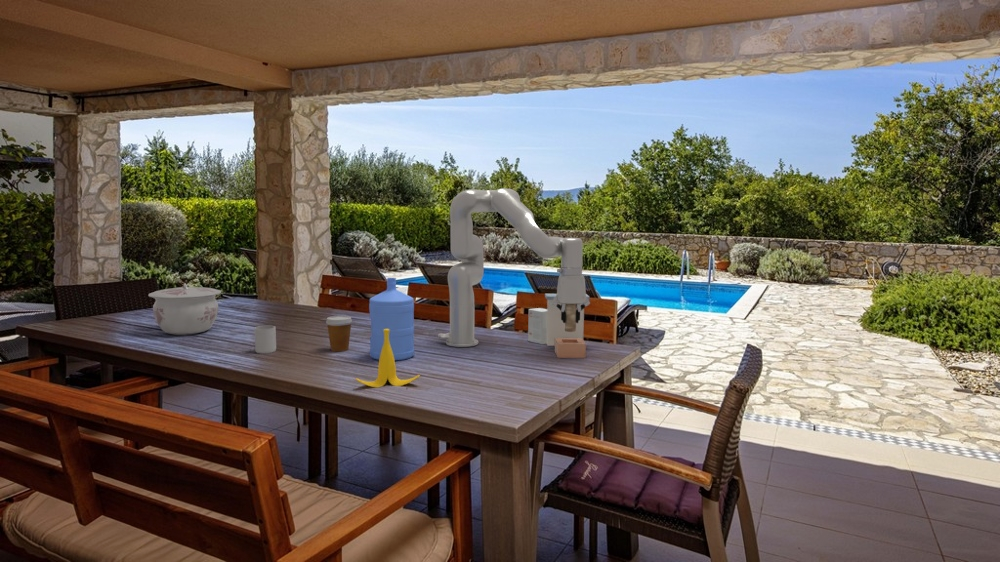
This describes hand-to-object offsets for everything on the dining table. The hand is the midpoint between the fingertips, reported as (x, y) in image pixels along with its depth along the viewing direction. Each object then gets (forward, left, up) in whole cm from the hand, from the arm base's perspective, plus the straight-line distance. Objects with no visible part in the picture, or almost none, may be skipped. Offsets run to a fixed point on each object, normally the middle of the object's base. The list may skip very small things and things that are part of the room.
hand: (570, 321), depth 230 cm
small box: (-9, +22, -12) cm, 27 cm away
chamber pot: (-156, +38, -12) cm, 161 cm away
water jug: (-64, -4, -12) cm, 65 cm away
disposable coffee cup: (-85, +6, -12) cm, 86 cm away
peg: (0, 0, -3) cm, 3 cm away
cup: (-111, +4, -12) cm, 112 cm away
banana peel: (-58, -39, -12) cm, 71 cm away
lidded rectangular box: (0, +13, -12) cm, 18 cm away
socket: (0, 0, -12) cm, 12 cm away
